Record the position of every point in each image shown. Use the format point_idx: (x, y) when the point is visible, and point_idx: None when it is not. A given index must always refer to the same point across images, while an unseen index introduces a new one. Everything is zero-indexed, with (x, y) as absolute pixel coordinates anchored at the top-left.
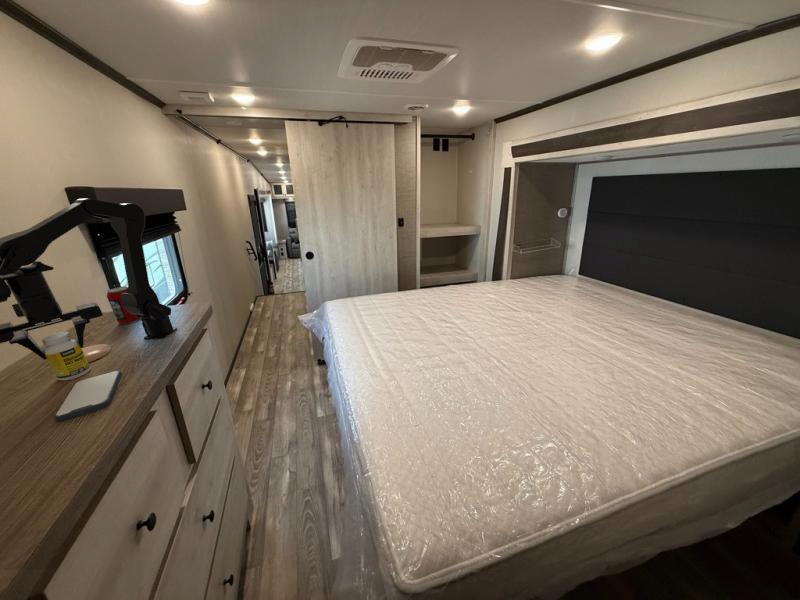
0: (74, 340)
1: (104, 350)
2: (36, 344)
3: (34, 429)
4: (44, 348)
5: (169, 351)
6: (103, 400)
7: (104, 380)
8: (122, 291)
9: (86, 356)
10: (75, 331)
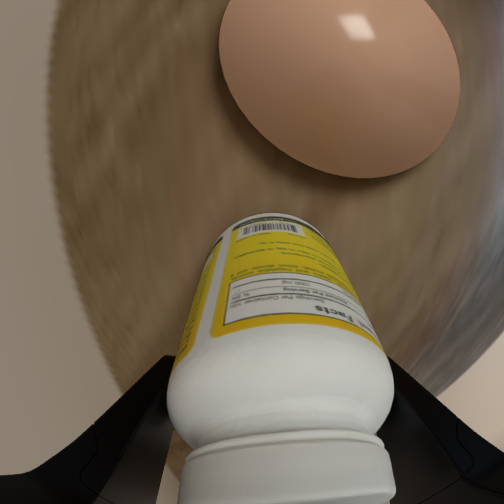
0: (373, 434)
1: (435, 122)
2: (138, 480)
3: (180, 443)
4: (176, 423)
5: (479, 347)
6: None
7: None
8: None
9: (359, 106)
10: (421, 483)
